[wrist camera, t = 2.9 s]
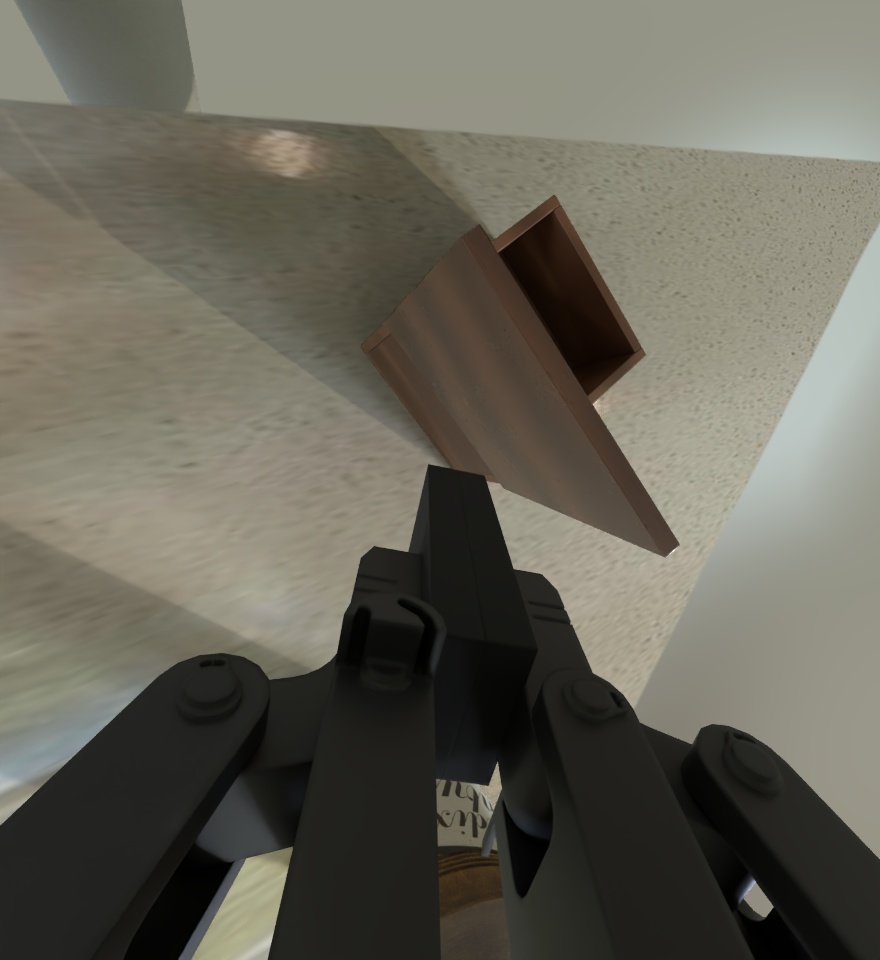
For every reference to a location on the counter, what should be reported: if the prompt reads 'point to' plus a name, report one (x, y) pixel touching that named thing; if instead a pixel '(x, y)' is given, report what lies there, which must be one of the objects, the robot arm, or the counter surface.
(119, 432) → the counter surface
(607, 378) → the chest
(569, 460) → the lid
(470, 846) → the wooden container
